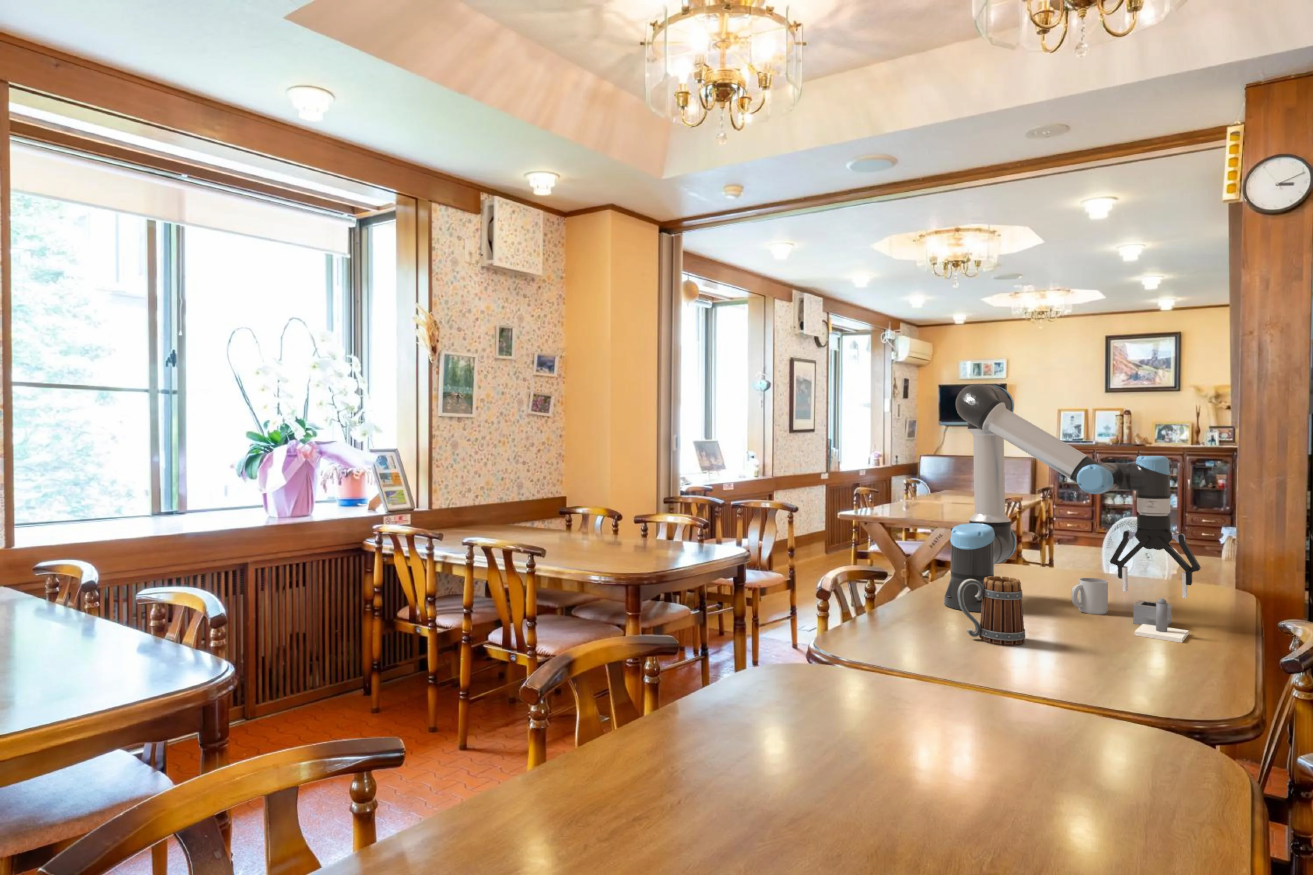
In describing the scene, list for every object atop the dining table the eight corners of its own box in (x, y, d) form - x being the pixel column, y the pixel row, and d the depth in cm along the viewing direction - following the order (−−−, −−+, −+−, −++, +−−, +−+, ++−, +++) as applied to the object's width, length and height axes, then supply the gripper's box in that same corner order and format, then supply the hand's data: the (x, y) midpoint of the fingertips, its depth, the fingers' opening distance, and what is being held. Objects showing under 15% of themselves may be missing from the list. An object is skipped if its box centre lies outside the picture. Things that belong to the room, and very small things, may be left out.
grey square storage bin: (1133, 623, 210) (1133, 604, 210) (1139, 618, 215) (1139, 600, 215) (1166, 628, 205) (1166, 609, 205) (1171, 622, 210) (1171, 604, 210)
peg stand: (1134, 635, 198) (1134, 598, 198) (1142, 627, 205) (1142, 592, 205) (1181, 642, 191) (1182, 604, 191) (1188, 634, 199) (1188, 597, 199)
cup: (1113, 614, 220) (1113, 582, 219) (1079, 615, 219) (1079, 583, 219) (1097, 608, 227) (1097, 577, 227) (1063, 609, 226) (1064, 578, 226)
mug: (1016, 634, 198) (1016, 575, 198) (1032, 646, 188) (1032, 583, 188) (952, 633, 200) (952, 574, 200) (964, 644, 189) (964, 582, 189)
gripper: (1097, 512, 215) (1098, 590, 215) (1208, 518, 198) (1209, 602, 198) (1104, 510, 221) (1104, 586, 221) (1212, 515, 204) (1213, 597, 204)
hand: (1154, 594), depth 210 cm, fingers open, 13 cm apart
